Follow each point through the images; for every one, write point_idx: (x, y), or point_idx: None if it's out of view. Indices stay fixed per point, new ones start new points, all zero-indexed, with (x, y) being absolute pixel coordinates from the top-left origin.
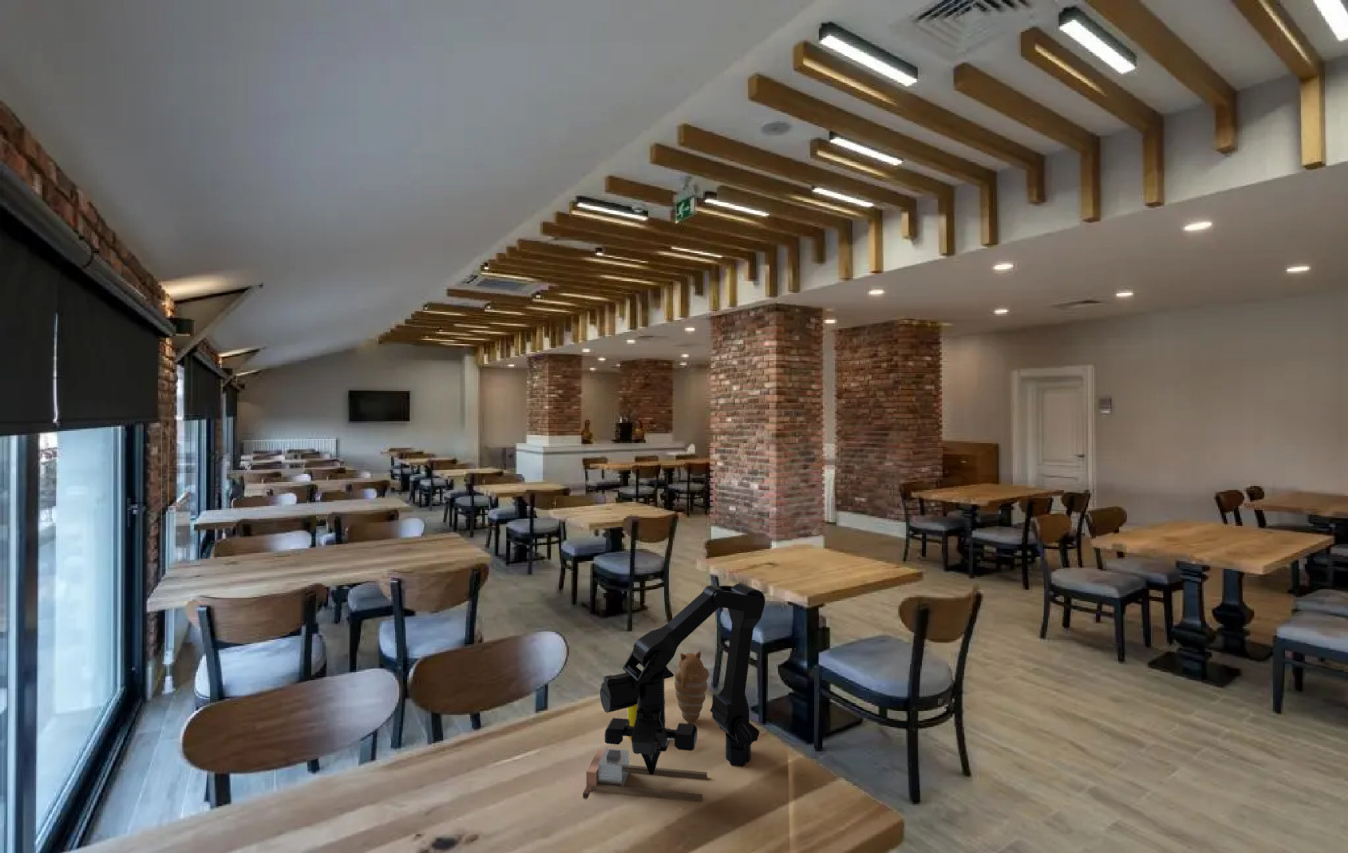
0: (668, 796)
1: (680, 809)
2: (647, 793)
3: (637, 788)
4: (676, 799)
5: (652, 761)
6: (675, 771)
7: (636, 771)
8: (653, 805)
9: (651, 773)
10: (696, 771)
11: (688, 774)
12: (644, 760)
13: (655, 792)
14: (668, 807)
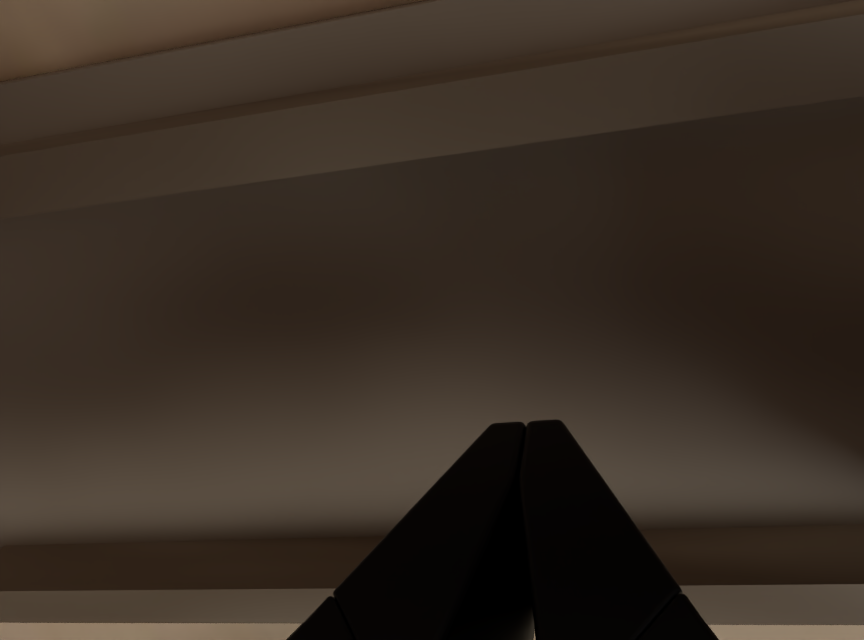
0: (167, 119)
1: (39, 45)
2: (498, 71)
3: (707, 97)
4: (83, 133)
5: (446, 595)
6: (294, 590)
7: (839, 545)
8: (398, 3)
9: (522, 431)
10: (82, 621)
11: (154, 574)
12: (677, 596)
13: (354, 99)
14: (191, 32)
